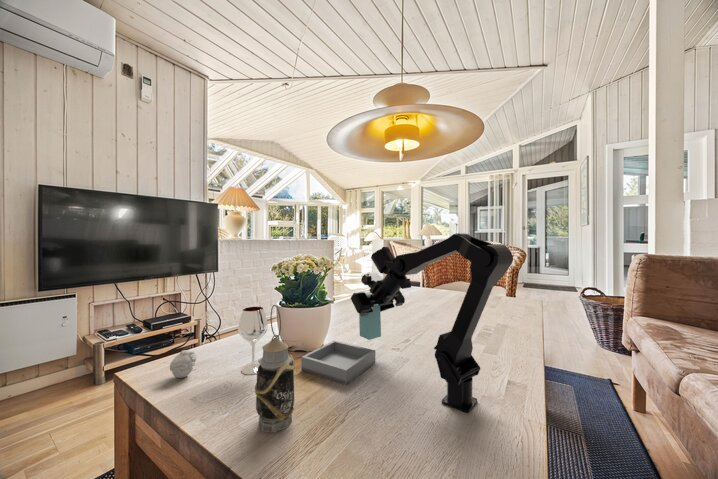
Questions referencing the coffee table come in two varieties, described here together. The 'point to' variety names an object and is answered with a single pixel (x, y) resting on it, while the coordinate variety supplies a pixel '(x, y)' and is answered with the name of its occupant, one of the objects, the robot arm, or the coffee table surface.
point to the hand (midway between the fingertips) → (367, 313)
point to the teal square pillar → (370, 322)
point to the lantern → (275, 385)
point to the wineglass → (252, 332)
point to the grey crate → (338, 361)
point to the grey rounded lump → (183, 363)
